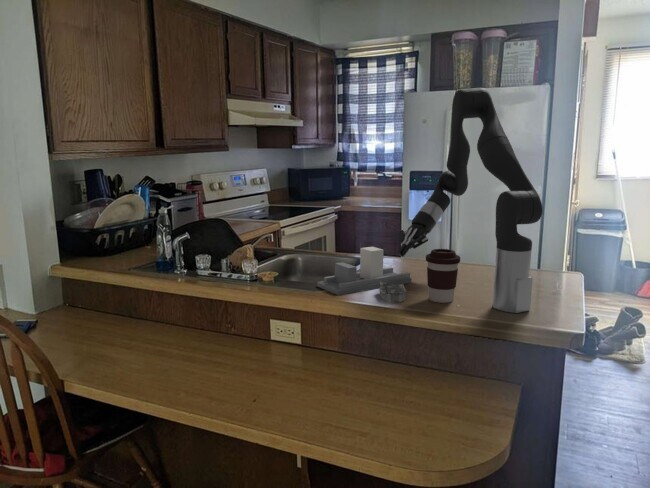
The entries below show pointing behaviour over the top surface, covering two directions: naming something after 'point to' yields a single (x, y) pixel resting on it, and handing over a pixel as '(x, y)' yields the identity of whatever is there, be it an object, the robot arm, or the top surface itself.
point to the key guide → (364, 282)
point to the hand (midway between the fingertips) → (399, 254)
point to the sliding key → (371, 262)
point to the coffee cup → (442, 274)
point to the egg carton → (392, 292)
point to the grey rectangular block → (345, 272)
